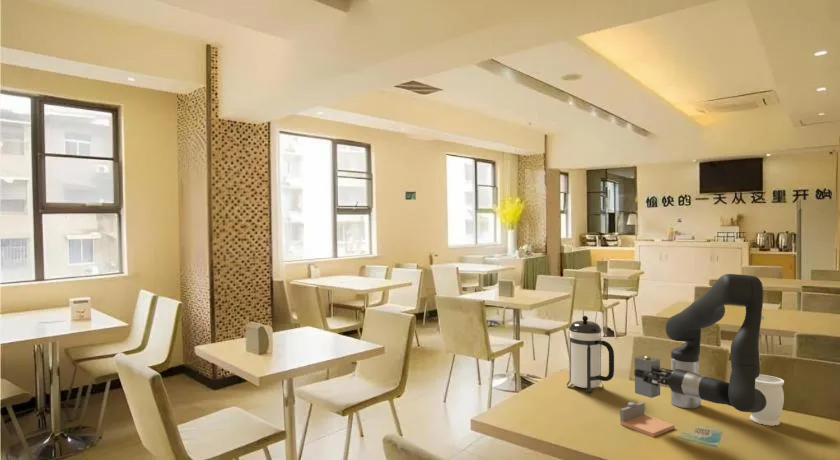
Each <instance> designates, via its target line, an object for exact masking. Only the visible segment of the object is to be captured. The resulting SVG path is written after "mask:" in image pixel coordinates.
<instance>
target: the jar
mask: <svg viewBox="0 0 840 460" xmlns="http://www.w3.org/2000/svg"><path fill="white" fill-rule="evenodd" d="M784 384H785V380H784V379H782V378H780V377H776V376H772V375H767V374H762V373H760V375H759V377H757V378H756V379H755V388H756V389H758V390H759V391H761V392H762V393H763V394H764V396H765V398H766V406H765V408H764V409H763V410H762V411H760V412H756V413H752V412H750V414H751V415H750V416H749V419H750V420H751V421H752V422H754V423H756V424H759V425H762V424H763V425H765V426H771V427H775V425H776V426H779V425H780V424H781V422H780V420H779V418H780V417H781V415H782V413H783V407H784V401H785V393H784V389H783V385H784ZM763 425H762V426H763Z"/></svg>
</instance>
